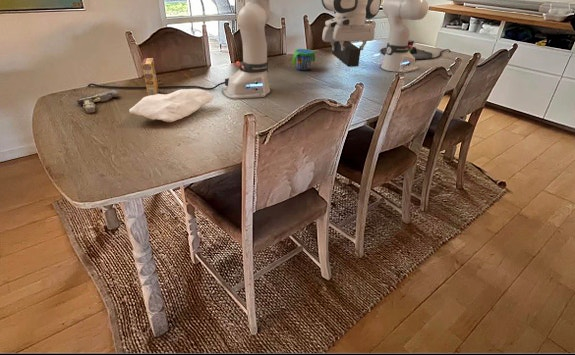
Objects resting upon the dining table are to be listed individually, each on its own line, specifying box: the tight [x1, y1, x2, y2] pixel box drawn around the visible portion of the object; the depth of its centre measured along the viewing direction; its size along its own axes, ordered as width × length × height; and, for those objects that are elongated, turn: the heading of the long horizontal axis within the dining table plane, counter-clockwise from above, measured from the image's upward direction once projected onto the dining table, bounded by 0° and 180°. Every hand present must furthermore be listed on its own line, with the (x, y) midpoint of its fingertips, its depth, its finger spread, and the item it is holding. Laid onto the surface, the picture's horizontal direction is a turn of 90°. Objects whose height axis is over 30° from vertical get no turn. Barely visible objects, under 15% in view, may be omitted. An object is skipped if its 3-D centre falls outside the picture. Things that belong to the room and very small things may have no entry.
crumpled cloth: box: [129, 88, 214, 123], centre depth 147 cm, size 24×35×9 cm
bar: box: [331, 41, 362, 68], centre depth 187 cm, size 26×6×8 cm, turn 12°
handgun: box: [76, 89, 120, 114], centre depth 155 cm, size 3×18×15 cm
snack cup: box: [291, 48, 316, 71], centre depth 207 cm, size 16×10×10 cm
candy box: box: [141, 57, 160, 96], centre depth 163 cm, size 9×4×15 cm, turn 13°
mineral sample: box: [380, 39, 433, 59], centre depth 249 cm, size 35×35×9 cm
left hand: (352, 50), depth 179 cm, fingers open, 8 cm apart
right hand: (339, 50), depth 195 cm, fingers closed on bar, 5 cm apart
